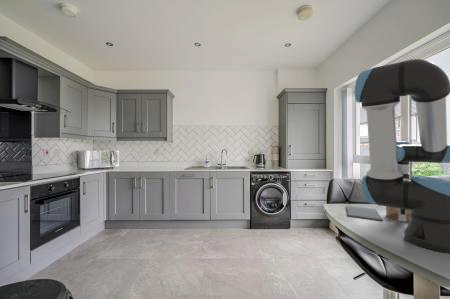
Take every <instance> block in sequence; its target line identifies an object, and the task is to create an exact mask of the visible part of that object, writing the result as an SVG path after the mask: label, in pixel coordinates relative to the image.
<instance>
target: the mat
mask: <svg viewBox="0 0 450 299" xmlns="http://www.w3.org/2000/svg"><path fill="white" fill-rule="evenodd" d="M345 208H346V213H347V217H349V218H357V219H366V220H370V221H371V220H372V221H380V222H383V220H384V219H383V218H382V216H381V215H380V213H379V212H378V210H377V209H376V208H370V207H369V208H368V207H361V206H359V207H358V206H351V205H346V206H345Z"/></svg>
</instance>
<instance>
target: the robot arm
mask: <svg viewBox="0 0 450 299" xmlns="http://www.w3.org/2000/svg"><path fill="white" fill-rule="evenodd" d="M449 95H450V79H449V76H448V75H447V73H446V72H445V71H444V70H443V68H441V67H440V66H438V65H437V64H436V63H434V62H432V61H430V60H426V59H422V58H410V59H406V60H403V61H399V62H394V63H389V64H385V65H380V66H376V67H372V68H369V69H365V70H362V71H361V72H359V74H358V75H357V78H356V81H355V85H354V97H355V98H354V99H355V102H357V103H361V108H362V109H363V110H365V112H366V120H367V135H368V136H367V137H368V138H367V139H368V148H369V149H368V151H369V164H370V169H369V170H367V171H366V174H365V175H364V176H363V177H362V179H361V190H362V195H363V198H364V199H365V201H367V203H369V204H372V205H377V206H379V207H382V206H383V207H386V206H388V207H394V208H398V219H397V220H398V222H405V223H406V222H407V221H406V210H411V219H410V221H408V223H407V225H406V227H405V230H404V239H405V240H406V241H407V242H409V243H411V244H413V245H415V246H418V247H421V248H424V249H428V250H432V251H435V252H441V253H446V254H447V253H448V254H450V180H446V179H442V178H436V177H431V176H427V175H426V176H425V175H417V174H413V175H411V177H410V174H409V173H410V169H411V168H412V166H410V163H432V164H450V143H449V144H448V134H447V133H448V131H447V130H448V128H447V124H448V123H447V97H448V96H449ZM406 96H407V97H408V96H410V98H411V100H412V101H413V102H415V108H416V117H417V124H418V132H419V134H418V135H419V141H420V142H419V143H420V144H410V142H409V141H403V140H402V141H400V140H399V141H397V127H396V125H397V123H396V122H397V120H396V106H398V105H399V103H401V97H406Z"/></svg>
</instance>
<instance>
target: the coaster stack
mask: <svg viewBox="0 0 450 299" xmlns="http://www.w3.org/2000/svg"><path fill="white" fill-rule="evenodd" d="M385 210H386V213H385V214H386V216H387V218H388V219H391V220H392V219H393V220H398V208H394V207H388V206H385ZM410 219H411V210H406V222H409V221H410Z"/></svg>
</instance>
